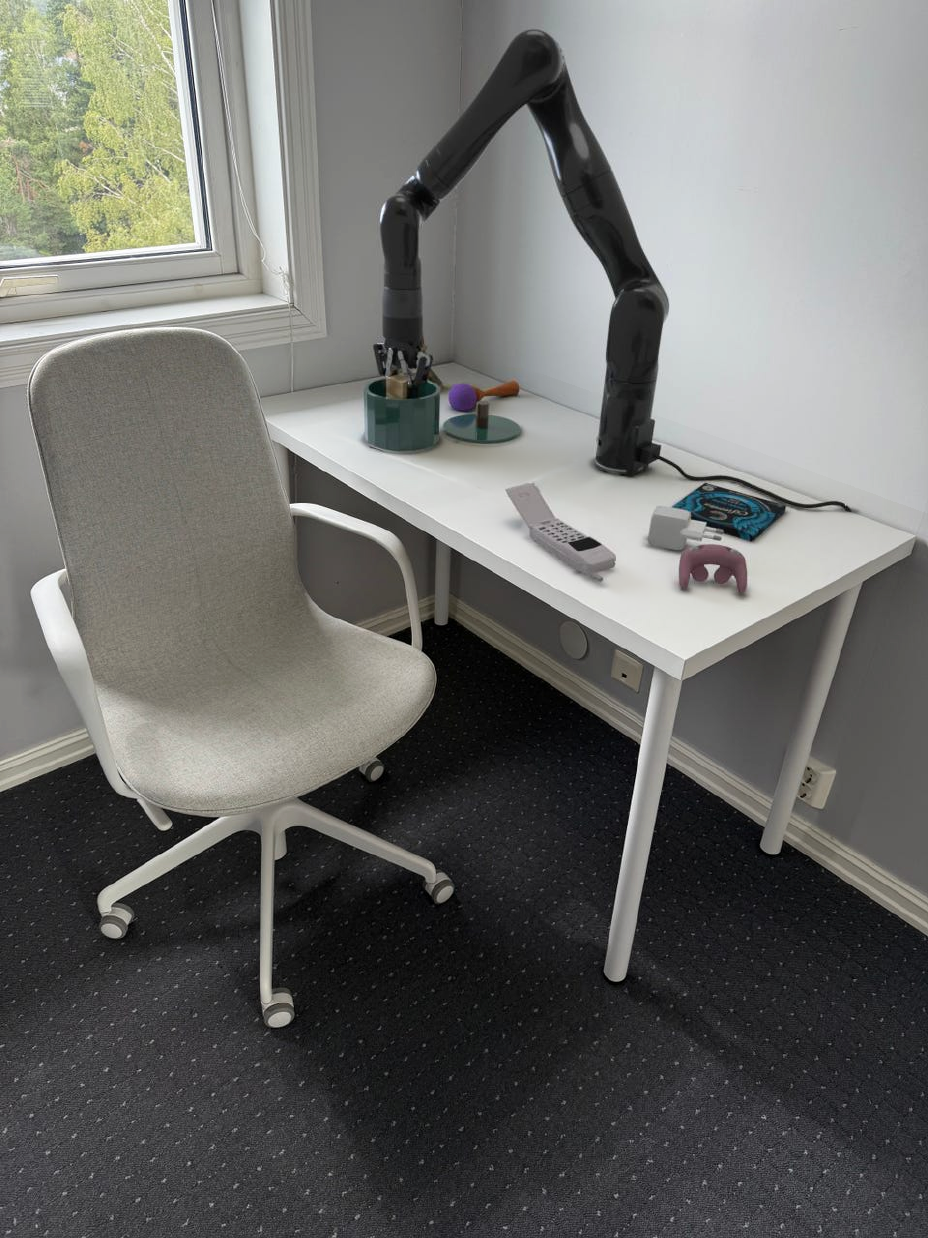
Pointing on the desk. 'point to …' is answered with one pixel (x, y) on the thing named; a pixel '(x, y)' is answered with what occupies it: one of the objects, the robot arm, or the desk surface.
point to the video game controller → (716, 555)
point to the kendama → (477, 394)
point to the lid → (481, 426)
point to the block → (396, 386)
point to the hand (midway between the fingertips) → (402, 401)
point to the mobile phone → (560, 533)
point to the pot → (401, 417)
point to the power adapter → (677, 528)
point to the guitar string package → (731, 511)
